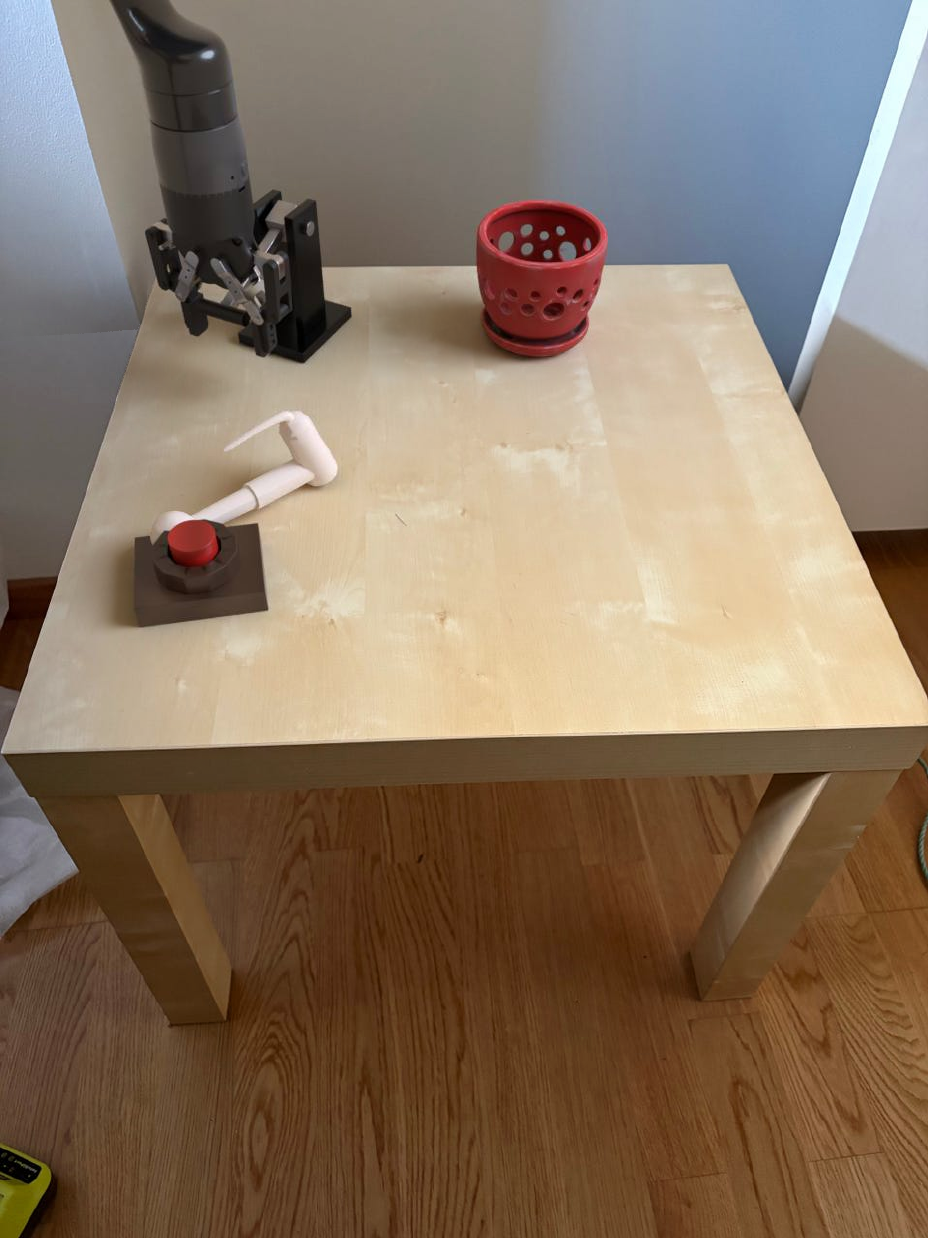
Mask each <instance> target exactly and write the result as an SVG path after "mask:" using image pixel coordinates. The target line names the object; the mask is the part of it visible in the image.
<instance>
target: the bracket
mask: <svg viewBox="0 0 928 1238" xmlns="http://www.w3.org/2000/svg"><path fill="white" fill-rule="evenodd" d="M278 200H281V201H283V194H282V191H280V190H277V189H273V188H272V189H271V190H270V191H268V192H267V193H265V194H264V195H263V196H262V197H260V198H259V199H258V200H256V201H255V202H253V206H254V213H255V222H254V229H253V236H254V239H255V241H256V243H257V245H258V246H259V245H260V244H261V242H262V241H263V239H264V238H265V236H266V235H267V233H268V232H269V230H268V227H267V224H266V222H265V219H266V217H267V216H268V214H269V213H270V212H271V210H272V209H273V207H274V206H275V204H276V203H277V201H278ZM317 207H318V205H317V200H315V199H312V198H306V199H305V200H304V201H303V202H300V204H299V205H298V206H297V207H296V208H295V209H294V210H292V211H291V212H290V213H288V214H287V215H286V216H285V217H284V222H285V231H286V240H287V242H283V241H281V242H280V243H279V245H278V246H277V248H276V249H275V251H274V252H273V255H275V254H277V253H278V252H279V251H283V252H285V253H286V254H287V255H288V257H289V267H290V280H291V293H292V306H293V309H292V311H291V312H289V313H288V314H287V315H285V316H284V317H283V318H282V319H281V320H280V321H279V322H278V323H277V324H275V327H276V335H277V345H276V347H275V348H274V349H273V350H272V351H271V352H270V353H269V354H273V355H277V356H280V357H283V358H287V359H289V360H292V361H295V362H299V363H302V364H305V363H306V362H307V361H308V360H310V358H311V357H312V356H314V354H315V353H317V351H319V349H321V348H322V347H323V345H325V343H327V342H328V341H329V340H330V339H331V338H332V337H333V336H334V335H335V334H336V333H338V331H339V330H340V329H341V328H342V327H343V326H345V324H346V323H347V322H348V321H350V319H351V318H352V316H353V314H352V313H353V312H352V307H351V306H348V305H344V304H341V303H338V302H334V301H331V300H327V299H325V289H324V288H325V286H324V277H323V276H324V275H323V264H322V253H321V241H320V229H319V217H318V208H317ZM252 322H253V320H252V319H251V320H250V323H249V325H248V326H247V327H243V328H242V329H241V330H239V332H237V338H238V343H239V344H241V345H244V346H248V347H251V348H253V349H255V346H254V340H253V333H252V327H251V323H252Z"/></svg>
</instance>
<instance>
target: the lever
mask: <svg viewBox="0 0 928 1238" xmlns="http://www.w3.org/2000/svg"><path fill="white" fill-rule="evenodd" d="M297 206H299V205H298V204H295V203H291V202H288V201H284V200H282V201H281V200H278V201H277V203H276V204H275V206H274V207H273V209H272V210H271V212H270V213H269V214H268V216H267V217H266V219H265V222H266V224H267V227H268V230H269V232H268V233H267V235H266V236H265V238H264V239H263V241H262V242H261V244H260V245H259V249H260V251H263V252H266V253H270V254H273V252H274V251H275V249H276V248H277V246H278V245H279V243H280V242H281V241H283V242H287V240H286V231H285V222H284V217H285V216H286V215H287V214H288V213H290V212H291V211H292V210H294V209H295V208H296V207H297ZM257 267H258V266H257ZM258 269H259V268H258ZM259 271H260V269H259ZM241 285H242V287H243V288H244V289H246V288H247V287H249V286H250V280H249V278H247V280H246V281H244V282H243V283H242V284H241ZM239 306H240V304H238V303H237V302H236V301H235V299H234V297H233V296H232V294H231V293H230V291H229V290H227V292H226V294H225V296H224V297H223V299H222V300H221V301H220V302H218V301H215V300H212V299H208V298H205V297H204V298H202V299H200V300H199V302H198V306H197V308H198V312H199V313H201V314H204V315H207V317H211V318H214V319H217V320H220V321H223V322H227V323H230V324H233V325H237V326H240V327H243V328H244V327H247V326H248V325H249V323H250V322H251V320H252V319H251V317H250V316H249V314H248V312H247V311H246V309H241V308H238V307H239Z"/></svg>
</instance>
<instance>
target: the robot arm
mask: <svg viewBox="0 0 928 1238" xmlns="http://www.w3.org/2000/svg"><path fill="white" fill-rule="evenodd" d="M108 1H109V3H110V5H111V7H112V9H113V12H114V13H115V16H116V18H117V20H118V23H119V25H120V27H121V30H122V32H123V35H124V37H125V38H126V40H127V43H128V45H129V47H130V50H131V52H132V54H133V57H134V58H135V61H136V64H137V67H138V70H139V75H140V81H141V86H142V90H143V95H144V96H143V97H144V99H145V100H144V101H145V105H146V110H147V115H148V121H149V127H150V128H149V129H150V143H151V151H152V157H153V160H154V165H155V170H156V174H157V179H158V184H159V189H160V193H161V198H162V204H163V208H164V213H165V217H163V218H161V219H159V220H158V221H157V222H155V223H154V224H152V225H151V226H149V227H148V228H146V230H144V235H145V239H146V244H147V247H148V250H149V255H150V259H151V262H152V266H153V270H154V272H155V277H156V281H157V284H158V287H159V288H160V289H161V290H162V291H165V292H167V291H168V290H169V291H171V292H172V293H174V295H175V298H176V299H177V300H178V301H179V302H180V303H179V304H180V307H181V312H182V317H183V321H184V324H185V326H186V328H187V329H188V332H189V335H190V336H194V337H197V338H198V337H200V336H201V335H202V334H204V333H205V332H206V331H207V330H208V328H209V326H210V325H209V324H210V323H209V318H208V316H207V315H204V314H201V313H199V312H198V308H197V306H198V302H199V300H200V299H202V298H205V297H204V293H203V292H200V290H201V288H202V286H203V283H204V284H206V285H216V286H218V287H219V288H221V289H224V290H227V291H230V293H231V294H232V296H233V297H234V299H235V301H236V302H237V303H238V304H239V305H242V306H243V308H244V310H245V311H247V312H248V314H249V316H250V317H251V319H250V320H251V321H252V320H253V322H252V323H251V327H252V333H253V340H254V346H255V348H254V352H255V356H256V357H260V358H266V357H267V356H268V355H269V354H271V353H270V352H271V351H272V350H273V349H274V348H275V347H276V345H277V335H276V327H275V324H277V323H278V322H279V321H280V320H281V319H282V318H283V317H284V316H285V315H287V314H288V313H289V312H291V311H292V309H293V306H292V293H291V280H290V267H289V257H288V255H287V254H286V253H285V252H283V251H279V252H278V253H277V254H275V255H273V254H270V253H266V252H263V251H260V249H259V246H258V245H257V243H256V241H255V239H254V236H253V229H254V222H255V213H254V206H253V203H254V199H253V192H252V185H251V178H250V177H251V176H250V170H249V163H248V156H247V148H246V143H245V137H244V133H243V130H242V126H241V122H240V117H239V113H238V105H237V98H236V90H235V84H234V77H233V71H232V69H233V68H232V63H231V56H230V52H229V49H228V46H227V44H226V41H225V39H224V37H222V36H221V35H220V34H219V33H218V32H216V31H214V30H212V29H210V28H209V27H207V26H204V25H202V24H199V23H197V22H195V21H194V20H193V21H192V20H191V19H189V18H187V17H185V15H183V14H181V13H180V12H179V11H178V10H177V8H176V7H175V6H174V4H173V2H172V1H171V0H108ZM180 254H181V256H182V257H183V259H184V260H183V261H184V263H183V265H182V261H181V257H180ZM257 266H258V267H257ZM258 268H259V269H260V271H259V269H258ZM247 278H249V280H250V286H249V287H247V288H246V289H244V288H243V287H242V285H241V284H242V283H243V282H244V281H246V280H247ZM255 297H256V299H255ZM256 300H257V301H258V302H259V304H260V306H259V305H258V302H257V301H256Z"/></svg>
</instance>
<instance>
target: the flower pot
mask: <svg viewBox="0 0 928 1238" xmlns="http://www.w3.org/2000/svg"><path fill="white" fill-rule="evenodd" d="M526 225H530V226H531V228H532V230H531V232H530V233H529V234H527V235H524V234H523V233H522V228H524V226H526ZM559 227H560V228H563V230H564V233H563V234H559V232H558V229H557V228H559ZM507 232H509V233H511V234H512V236H513V241H512V243H511V245H510V246H509V248H507V249H506V250H501V249H500V246H499V242H500V239H501V237H502V235H503V234H505V233H507ZM542 233H547V235H548V237H547V238H546V239H545V238H541V234H542ZM587 239H588V241H589V243H590V248H588V246H587ZM608 242H609V235H608V231H607V229H606V227H605V225H604V223H603V222H602V221H601V220H600V219H599V218H598V217H597V216H595V215H594V214H592V213H591V212H590V211H588V210H586V209H585V208H582V207H580V206H577V205H574V204H571V203H567V202H564V201H563V202H562V201H557V200H551V199H550V200H549V199H548V200H547V199H526V200H525V199H524V200H519V201H513V202H509V203H506V204H503V205H500V206H497V207H496V208H494V209H492V210H491V211H490V212H488V213H487V214H486V215H485V216H484V217H483V218H482V219H481V221H480V222H479V225H478V226H477V230H476V245H475V247H476V249H475V251H476V252H475V260H476V261H475V263H476V275H477V282H478V290H479V294H480V297H481V300H482V303H483V305H484V306H483V307H482V310H481V312H480V313H481V315H480V321H481V325H482V328H483V331H484V332H485V334H486V335H487V336H488V337H489V338H490V339H491V341H492V342H494V343H495V344H496V345H498V346H499V347H501V348H503V349H504V350H506V351H509V352H512V353H514V354H518V355H523V356H528V357H549V356H555V355H559V354H562V353H565V352H567V351H569V350H571V349H572V348H574V347H575V346H577V345H578V344H579V343H581V342H582V340H584V338H585V337H586V335H587V333H588V331H589V327H590V317H589V314H588V313H589V312H590V310H591V308H592V306H593V304H594V302H595V300H596V298H597V295H598V292H599V289H600V286H601V284H602V275H603V271H604V267H605V263H606V259H607V252H608V244H609V243H608ZM564 243H570V244H572V245H573V248H574V249H575V256H574V259H570V260H566V259H565V258H564V257H563V256H562V253H561V246H562V244H564ZM525 244H531V245H532V251H531V252H530V253H528V254H524V253H523V251H522V248H523V246H524V245H525ZM546 251H549V252H551V254H552V255H551V257H549V258H548V257H546V256H545V255H544V254H545V252H546Z"/></svg>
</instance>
